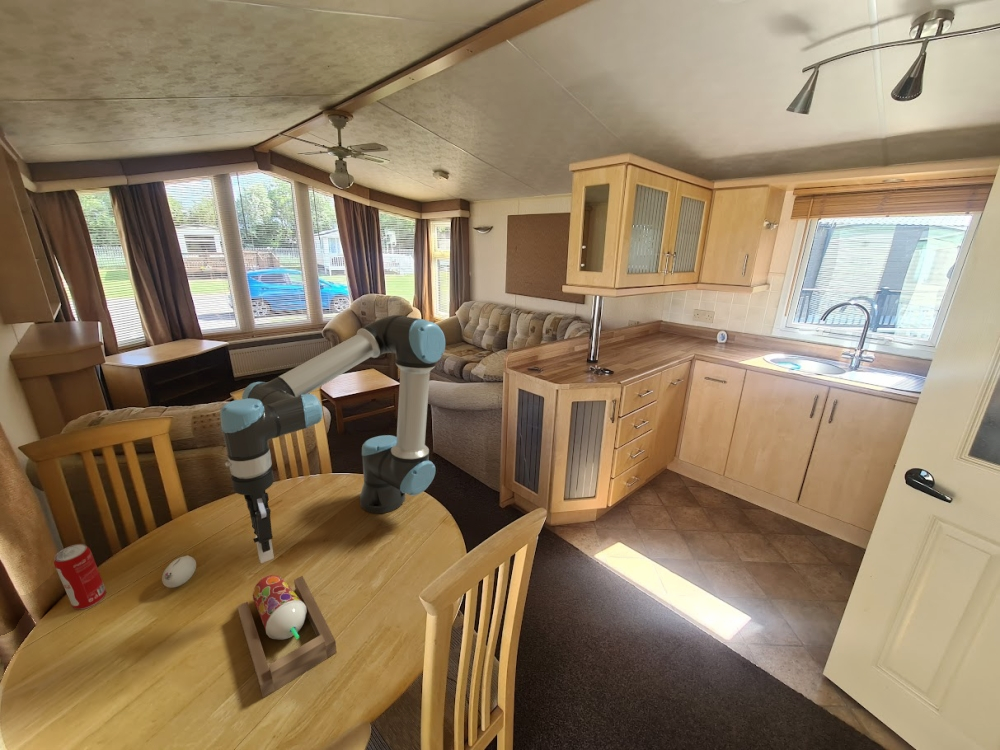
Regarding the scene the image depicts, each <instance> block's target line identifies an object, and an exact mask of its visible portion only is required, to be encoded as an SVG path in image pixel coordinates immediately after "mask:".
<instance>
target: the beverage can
mask: <svg viewBox="0 0 1000 750" xmlns="http://www.w3.org/2000/svg"><path fill="white" fill-rule="evenodd" d="M96 563H97V562H96V561H95V558H94V555H93V553H92V551H91V549H90V547H89V546H87V545H86V543H85V544H84V543H77V544H73V545H70V546H67V547H65V548H63V549H62V550H61V549H60V551H58V552H57V553H56V554H55V555H54V562H53V564H54V567H55V570H56V572H57V573H58V574H57V575H58V577H59V579H60V581H61V583H62V585H63V588H64V589H65V590H64V591H65V592H66V594H67V597H68V599H69V602H70V603H71V607H72V608H73V609H75V610H84V609H89V608H90V607H93V606H95V605H96V604H99V602H101V601H102V600H103V598H104V597H105V596H106V595H107V589H106V586H105V584H104V581H103V578H102V576H101V574H100V570H99V569H98V566H97V564H96Z"/></svg>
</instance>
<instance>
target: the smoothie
mask: <svg viewBox="0 0 1000 750" xmlns="http://www.w3.org/2000/svg"><path fill="white" fill-rule="evenodd" d="M252 600H253V601H254V602H253V603H254V604H255V608H256V609H257V612H258V615H259V618H260V620H261V622H262V625H263V627H264V630H265V634H266V636H268V638H270V639H272V640H287V639H290V638H292V637H294V638H295V639H296V640H298V639H300V635H299V634H298V633H299V632H300V630H301V629H302V628H303V625H304V624H305V620H306V617H307V614H306V612H307V609H306V605H305V604H304V603H303V602H302V601H301V600H300V598H299V597H298V595H297V593H296V592H295V591H294V590H293V589H292V588H291V586H289V585H288V583H287V582H286V581H285V580H284V578H282V577H281V576H279V575H275V574H274V575H273V574H271V575H267V576H264V577H262V578H261V579H260V580H259V581H258V582H257V583H256V584H255V587H254V589H253V592H252Z"/></svg>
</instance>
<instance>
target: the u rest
mask: <svg viewBox="0 0 1000 750" xmlns="http://www.w3.org/2000/svg"><path fill="white" fill-rule="evenodd" d="M293 581H294V588H295V594H296V595H297V596H298V597H299V598H300V600H301V601H302V602H303V603H304V604H305V605H306V609H307V612H306V617H307V619H308V620H309V623H310V625H311V627H312V629H313V631H314V633H315V637H314V638H313V639H311V640H309V641H307V642H305V643H303V644H302V645H301V646H299V647H297V648H295V649H294V650H292V651H290V652H289V653H287V654H285V655H284V656H281V657H280V658H277V659H276V660H274V661H273V662H271V663H270V664H269V663H268V661H267V658H266V655H265V652H264V649H263V645H262V642H261V639H260V635H259V633H258V630H257V627H256V624H255V620H254V617H253V615H252V611H251V608H250V605H249V601H246V602H244V603H241V604H239V605H237V610H238V616H239V619H240V622H241V627H242V630H243V633H244V637H245V641H246V644H247V648H248V650H249V651H248V652H249V655H250V658H251V662H252V665H253V669H254V672H255V675H256V679H257V681H258V686H259V689H260V693H261V696H262V699H265V698H266V697H268V696H269V695H271V694H273V693H274V692H276V691H277V690H279V689H281V688H282V687H284V686H286V685H287V684H289V683H290V682H292V681H294V680H295V679H297V678H298V677H300V676H302V675H304V674H305V673H306V672H308V671H310V670H311V669H312V668H315V667H316V666H318V665H319V664H321V663H322V662H325V660H327V659H329V658H330V657H332V656H334V655H336V654H337V652H338V651H337V643H336V638H335V637H334V635H333V633H332V631H331V630H330V628H329V625H328V623H327V621H326V619H325V618H324V615H323V613H322V611H321V609H320V607H319V605H318V603H317V601H316V600H315V598H314V596H313V593H312V592H311V589H310V588H309V586H308V584H307V582H306V580H305V578H304V576H303V575H302V576H299V577H297V578H295V579H294V580H293Z"/></svg>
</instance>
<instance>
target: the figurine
mask: <svg viewBox="0 0 1000 750" xmlns="http://www.w3.org/2000/svg"><path fill="white" fill-rule="evenodd" d="M196 569H197V562H196V560H195V558H194V557H193V556H189V555H188V554H186V555H185V556H180V557H178V558H176V559H174V560H173V561H172V562H171V563H169V564H168V565H167V567H165V568H164V571H163V572H162V576H161V581H162V584H163V586H165V587H167V588H177V587H181V586H182V585H184V584H185V583H187V582H188V581H189V580H190V579H191V578H192V577H193V575H194V573H195V572H196Z"/></svg>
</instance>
